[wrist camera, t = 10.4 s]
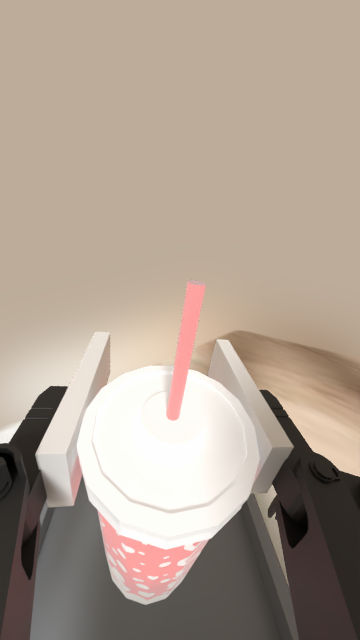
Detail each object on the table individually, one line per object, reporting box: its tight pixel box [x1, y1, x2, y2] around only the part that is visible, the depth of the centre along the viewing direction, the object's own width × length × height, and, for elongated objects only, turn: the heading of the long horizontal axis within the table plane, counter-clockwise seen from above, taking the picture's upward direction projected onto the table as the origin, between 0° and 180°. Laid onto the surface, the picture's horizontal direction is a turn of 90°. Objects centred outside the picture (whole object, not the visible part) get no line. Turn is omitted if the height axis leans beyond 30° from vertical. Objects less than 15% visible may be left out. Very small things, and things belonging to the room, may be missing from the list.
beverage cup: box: [77, 280, 260, 605], centre depth 8 cm, size 6×6×14 cm
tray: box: [30, 474, 299, 640], centre depth 13 cm, size 16×13×2 cm
